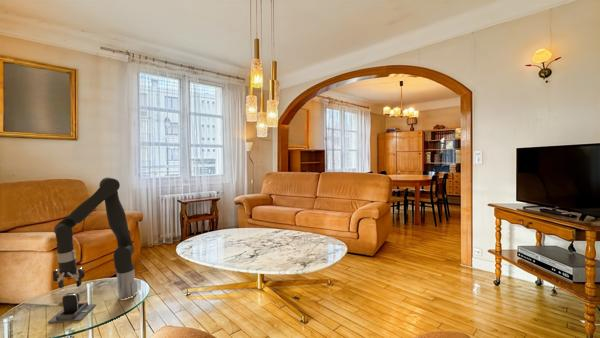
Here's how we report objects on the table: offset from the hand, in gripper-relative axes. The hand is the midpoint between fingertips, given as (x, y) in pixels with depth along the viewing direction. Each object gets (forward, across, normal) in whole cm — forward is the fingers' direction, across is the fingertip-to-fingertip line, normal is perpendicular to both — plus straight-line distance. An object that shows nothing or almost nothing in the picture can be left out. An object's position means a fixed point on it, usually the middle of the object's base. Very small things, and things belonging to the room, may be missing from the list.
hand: (70, 286), depth 156 cm
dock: (+16, 0, 0) cm, 16 cm away
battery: (+16, 0, 0) cm, 16 cm away
